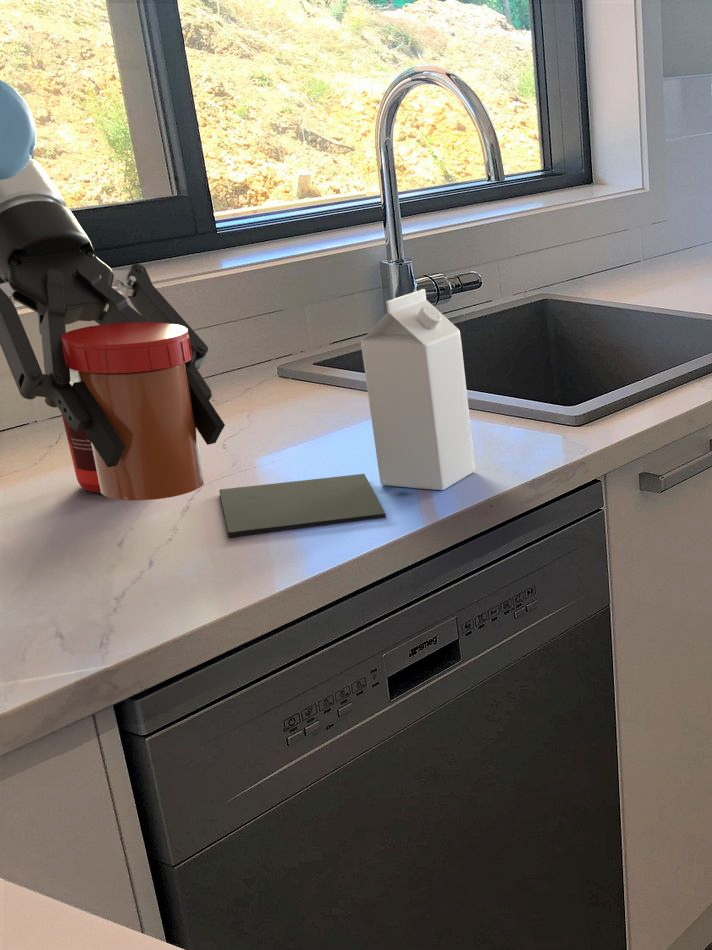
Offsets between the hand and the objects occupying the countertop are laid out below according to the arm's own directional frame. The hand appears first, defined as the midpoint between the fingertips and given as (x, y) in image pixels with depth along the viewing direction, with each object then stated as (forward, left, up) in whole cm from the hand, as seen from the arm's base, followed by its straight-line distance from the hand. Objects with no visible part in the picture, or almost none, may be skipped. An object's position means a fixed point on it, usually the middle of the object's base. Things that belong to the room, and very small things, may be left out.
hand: (167, 445), depth 115 cm
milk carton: (+23, +20, -12) cm, 33 cm away
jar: (-2, +3, -4) cm, 5 cm away
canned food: (-6, +31, -12) cm, 33 cm away
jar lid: (-2, +3, +8) cm, 9 cm away
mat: (+10, +16, -12) cm, 22 cm away
